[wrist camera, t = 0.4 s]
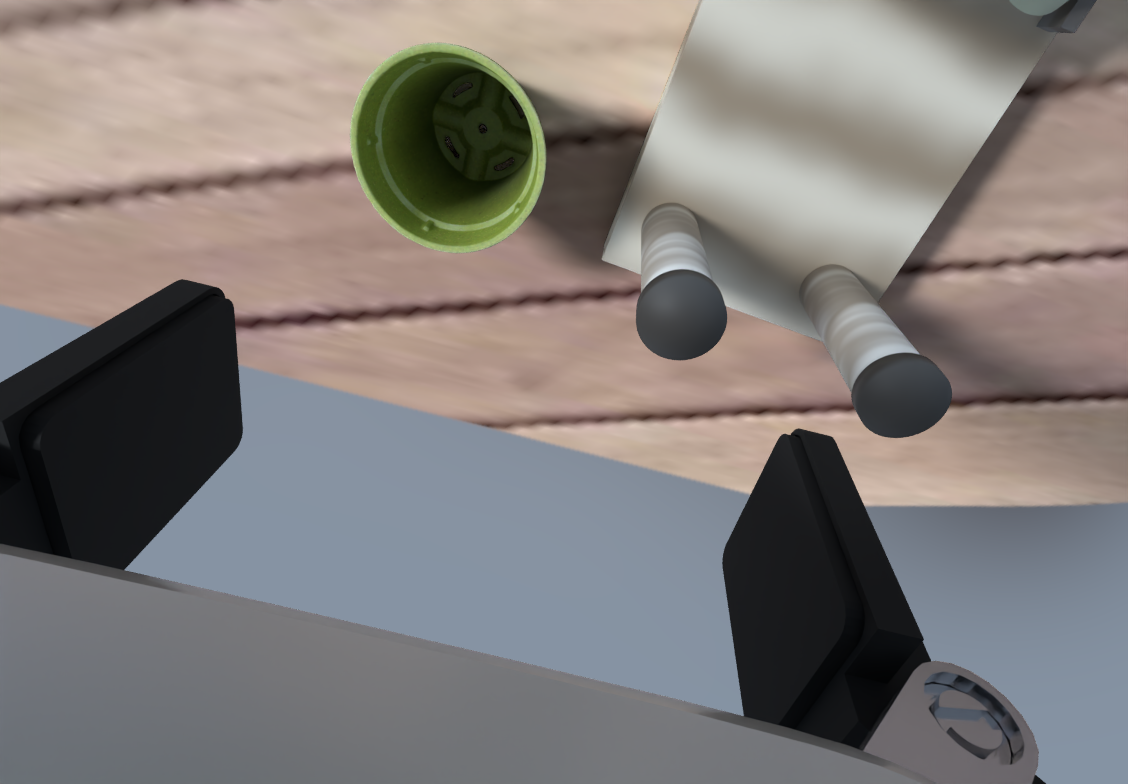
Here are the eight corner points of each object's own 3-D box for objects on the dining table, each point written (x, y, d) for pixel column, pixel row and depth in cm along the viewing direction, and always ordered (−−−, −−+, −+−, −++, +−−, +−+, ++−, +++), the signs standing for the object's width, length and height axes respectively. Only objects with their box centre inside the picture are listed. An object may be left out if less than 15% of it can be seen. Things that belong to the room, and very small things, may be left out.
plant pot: (594, 159, 37) (582, 194, 30) (466, 235, 41) (427, 284, 33) (508, 0, 34) (470, -5, 26) (376, 97, 37) (309, 118, 29)
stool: (776, -200, 29) (893, -388, 15) (1084, -63, 30) (1437, -128, 17) (604, 244, 40) (585, 357, 27) (833, 329, 41) (924, 477, 28)
